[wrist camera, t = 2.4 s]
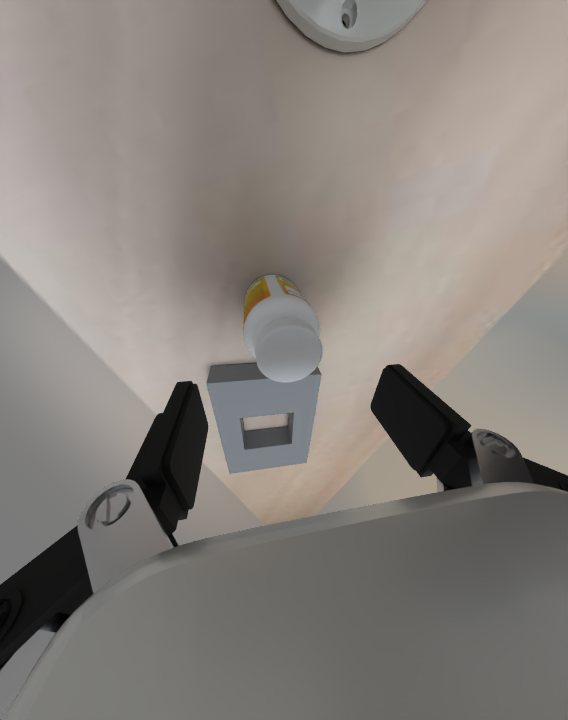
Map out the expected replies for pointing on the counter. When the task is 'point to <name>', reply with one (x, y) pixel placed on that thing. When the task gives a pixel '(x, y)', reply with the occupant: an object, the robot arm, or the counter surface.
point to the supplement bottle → (281, 329)
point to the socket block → (259, 398)
